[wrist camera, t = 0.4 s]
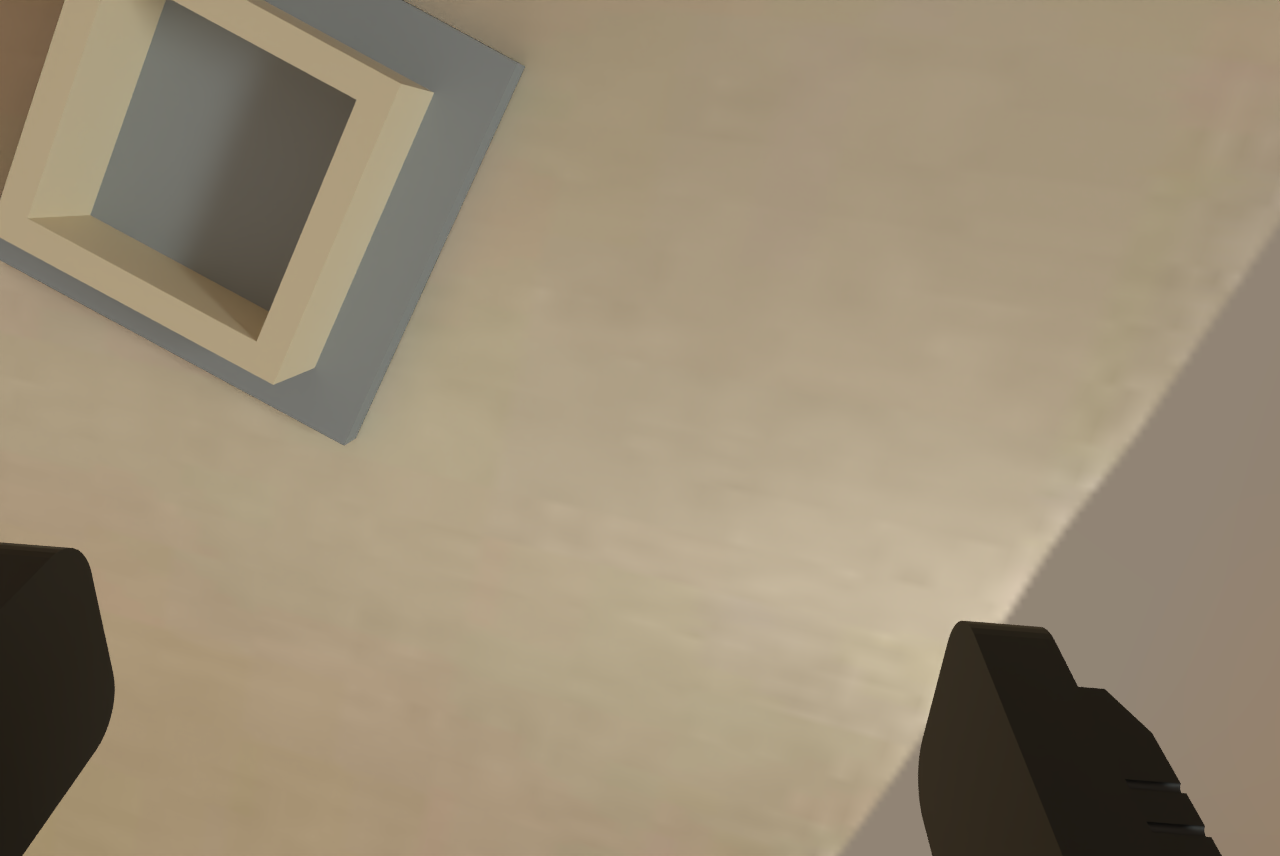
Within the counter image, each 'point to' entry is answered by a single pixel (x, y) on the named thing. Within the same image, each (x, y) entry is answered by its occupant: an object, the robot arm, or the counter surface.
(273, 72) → the jig
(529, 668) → the counter surface
